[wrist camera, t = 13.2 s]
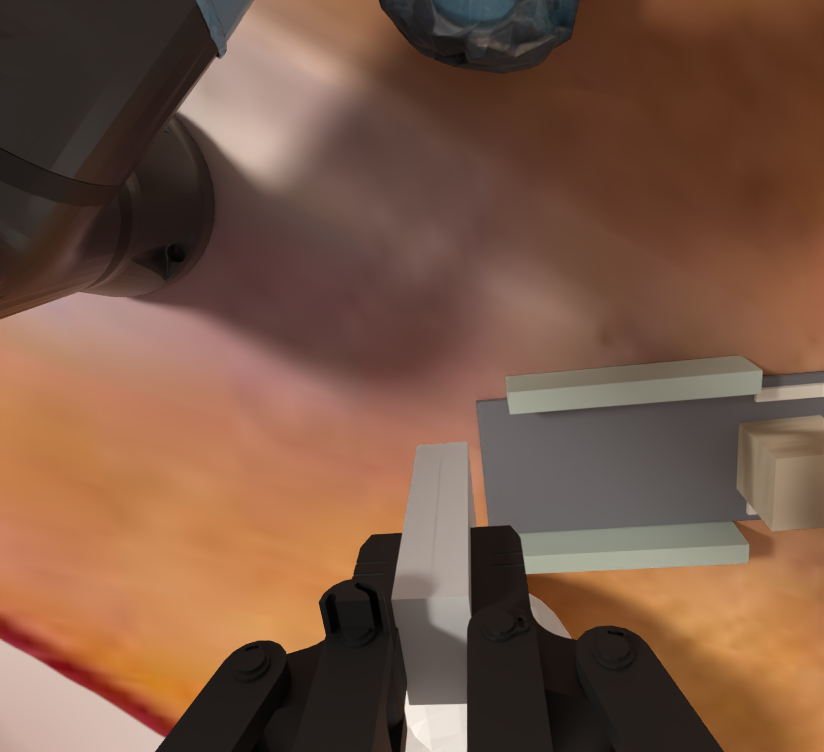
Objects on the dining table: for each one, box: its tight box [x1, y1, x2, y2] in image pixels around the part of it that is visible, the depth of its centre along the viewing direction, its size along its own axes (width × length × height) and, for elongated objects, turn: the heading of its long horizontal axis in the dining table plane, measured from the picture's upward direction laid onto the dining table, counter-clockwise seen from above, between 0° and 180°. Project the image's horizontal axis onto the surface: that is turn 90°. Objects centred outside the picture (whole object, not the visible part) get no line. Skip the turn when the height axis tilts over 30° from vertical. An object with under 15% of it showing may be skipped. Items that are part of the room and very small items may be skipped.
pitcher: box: [405, 593, 572, 752], centre depth 44 cm, size 19×18×25 cm
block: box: [737, 415, 824, 532], centre depth 44 cm, size 6×6×6 cm
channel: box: [505, 355, 763, 574], centre depth 47 cm, size 18×17×4 cm
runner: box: [476, 371, 824, 534], centre depth 48 cm, size 30×13×1 cm, turn 97°
